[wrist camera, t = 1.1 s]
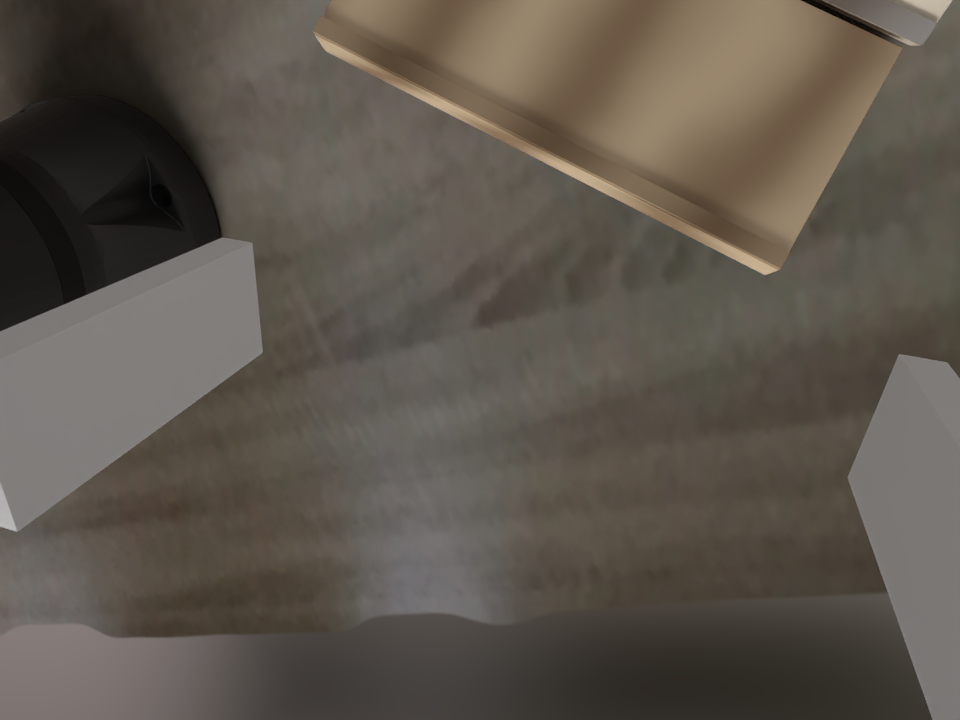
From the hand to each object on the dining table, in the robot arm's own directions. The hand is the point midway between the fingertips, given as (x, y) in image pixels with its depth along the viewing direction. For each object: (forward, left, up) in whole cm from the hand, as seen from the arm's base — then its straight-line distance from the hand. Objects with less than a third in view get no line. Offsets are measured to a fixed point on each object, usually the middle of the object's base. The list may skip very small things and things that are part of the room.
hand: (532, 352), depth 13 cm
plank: (-4, +4, -18) cm, 19 cm away
